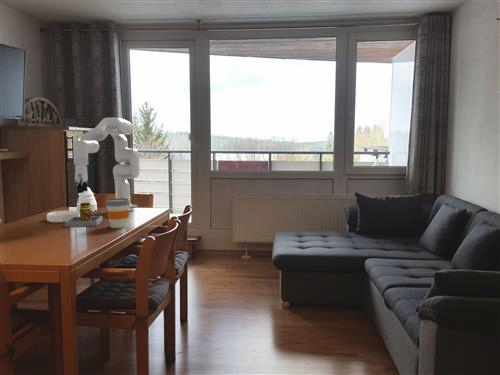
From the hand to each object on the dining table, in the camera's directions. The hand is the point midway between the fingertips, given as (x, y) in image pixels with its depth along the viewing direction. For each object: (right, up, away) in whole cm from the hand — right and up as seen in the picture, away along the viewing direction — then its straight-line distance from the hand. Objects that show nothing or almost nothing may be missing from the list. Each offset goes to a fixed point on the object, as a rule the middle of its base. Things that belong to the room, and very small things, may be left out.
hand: (82, 191), depth 238 cm
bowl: (-18, -17, +16) cm, 29 cm away
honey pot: (-16, -14, +48) cm, 53 cm away
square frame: (0, -18, +2) cm, 18 cm away
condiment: (0, -19, +3) cm, 19 cm away
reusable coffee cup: (+23, -19, -7) cm, 31 cm away
